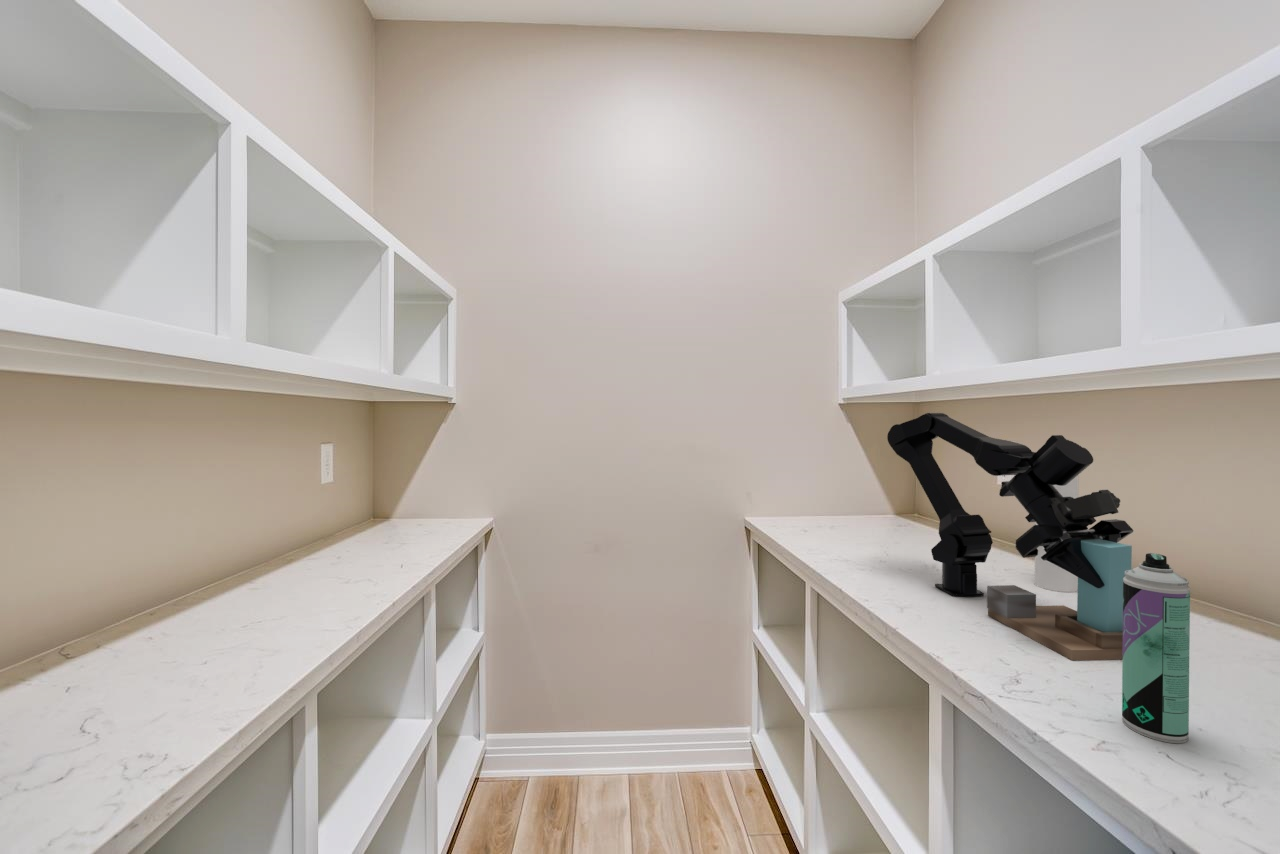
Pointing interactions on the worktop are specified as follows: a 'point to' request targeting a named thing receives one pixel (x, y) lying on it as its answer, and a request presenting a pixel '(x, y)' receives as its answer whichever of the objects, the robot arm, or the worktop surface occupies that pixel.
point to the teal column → (1106, 602)
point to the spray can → (1156, 651)
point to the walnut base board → (1052, 625)
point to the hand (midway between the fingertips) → (1113, 585)
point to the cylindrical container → (1048, 572)
